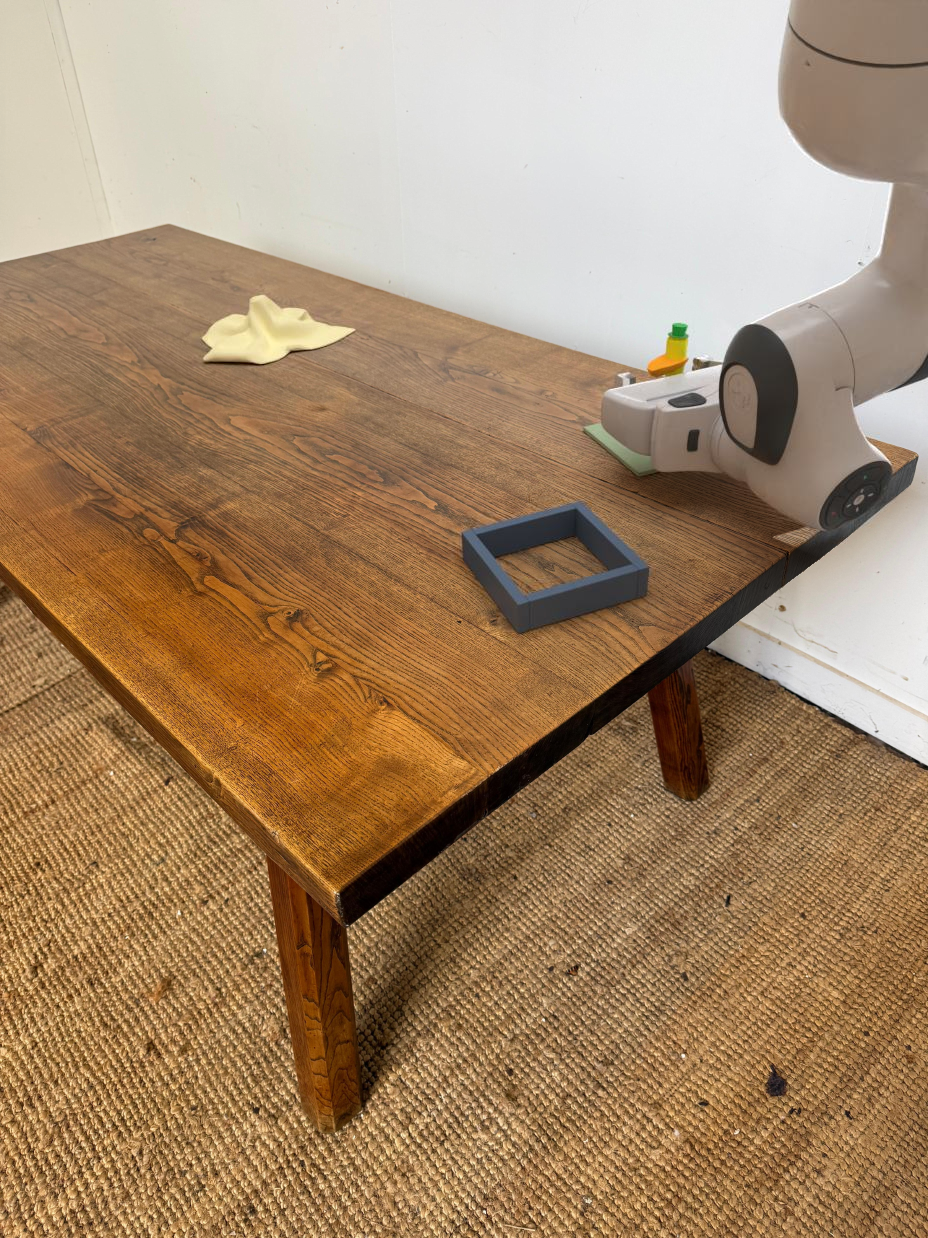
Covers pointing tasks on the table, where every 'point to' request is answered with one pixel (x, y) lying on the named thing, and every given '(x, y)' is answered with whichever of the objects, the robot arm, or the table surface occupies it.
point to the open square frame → (565, 599)
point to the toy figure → (672, 354)
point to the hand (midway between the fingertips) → (659, 371)
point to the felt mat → (621, 451)
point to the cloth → (267, 333)
